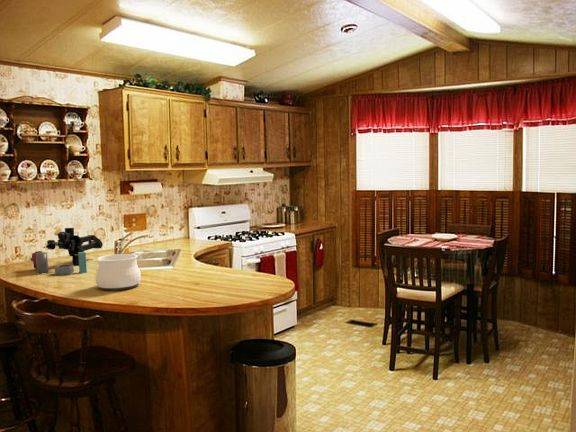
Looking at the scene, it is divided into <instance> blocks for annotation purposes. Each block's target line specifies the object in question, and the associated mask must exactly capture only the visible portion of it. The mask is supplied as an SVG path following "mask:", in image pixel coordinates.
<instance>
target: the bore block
mask: <svg viewBox="0 0 576 432" xmlns="http://www.w3.org/2000/svg"><path fill="white" fill-rule="evenodd" d="M74 270H75V268H74V265H73V263H70V264H58V265H56V266H55V267H54V276H67V275H71V274H74V272H75V271H74Z"/></svg>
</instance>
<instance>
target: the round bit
mask: <svg viewBox="0 0 576 432" xmlns="http://www.w3.org/2000/svg"><path fill="white" fill-rule="evenodd" d="M48 260H49V259H48V252H47V251H46V252H44V251H42V253H36V264H37V271H36V274H37V273H39V274H38V275H43V274H42V273H46V274H48V273H49V263H48V262H49V261H48Z"/></svg>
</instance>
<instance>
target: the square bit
mask: <svg viewBox="0 0 576 432" xmlns="http://www.w3.org/2000/svg"><path fill="white" fill-rule="evenodd" d="M78 256H79V265H78V270H79V274H85V273H88V271H87V268H88V267H87V255H86V252H85V251H84V252H78Z"/></svg>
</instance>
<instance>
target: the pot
mask: <svg viewBox="0 0 576 432" xmlns="http://www.w3.org/2000/svg"><path fill="white" fill-rule="evenodd" d="M141 255H142V254H141V253H140V252H133V253H121V254H119V253H118V254H117V253H116V254H107V255H102V256H98V257H97V258H96V259H93V260H92V261H93V262H97V263H98V268H97V271H96V274H95V284H96V286H97V287H98V288H99V289H100V290H102V291H107V292H108V291H112V292H113V291H116V292H117V291H124V290H129V289H133V288H135V287H137V286H139V285H140V283H141V280H142V274H141V270H140V268H139V266H138V262H137V258H138V257H139V256H141Z"/></svg>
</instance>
